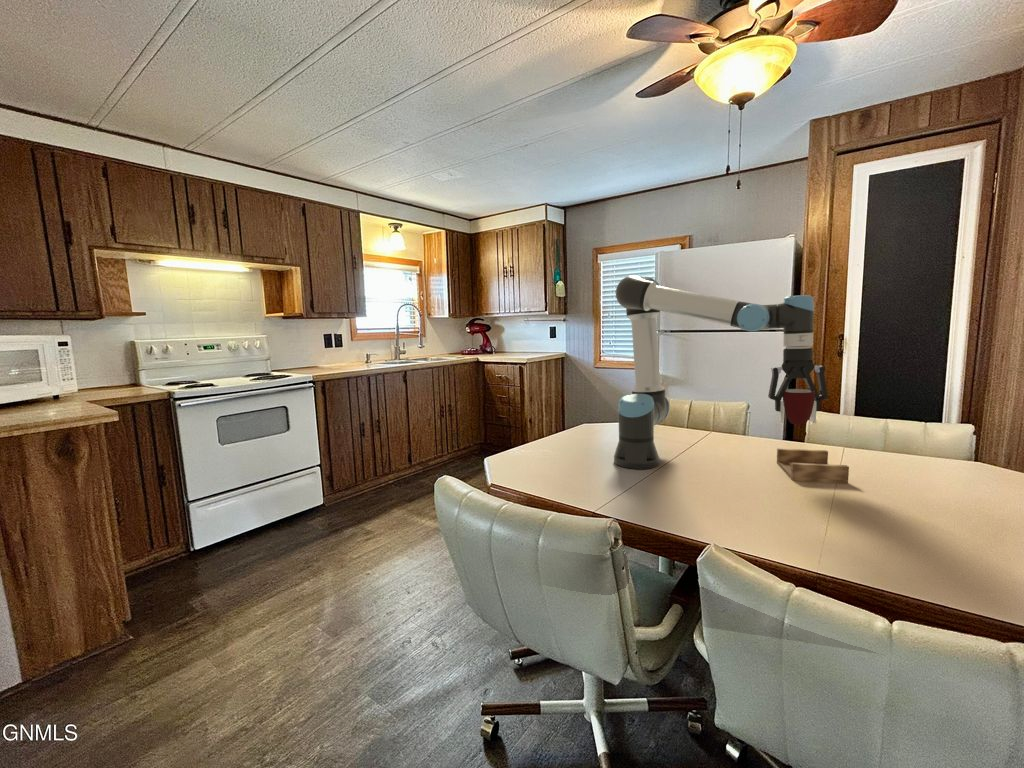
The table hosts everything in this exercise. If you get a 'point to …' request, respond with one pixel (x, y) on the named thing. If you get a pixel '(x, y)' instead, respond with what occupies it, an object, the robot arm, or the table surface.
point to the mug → (798, 405)
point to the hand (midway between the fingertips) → (796, 421)
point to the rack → (811, 466)
